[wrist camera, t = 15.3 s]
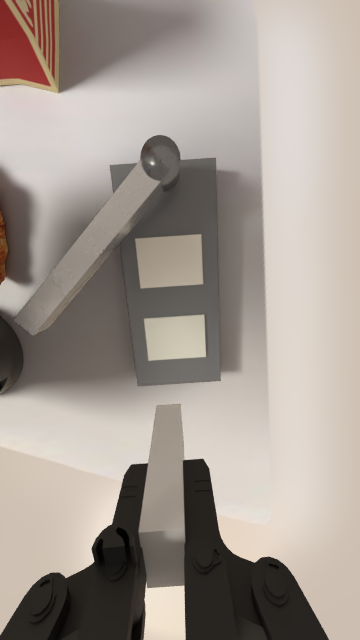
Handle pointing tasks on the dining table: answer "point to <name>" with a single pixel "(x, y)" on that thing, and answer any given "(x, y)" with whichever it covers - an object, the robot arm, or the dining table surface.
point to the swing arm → (104, 233)
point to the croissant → (2, 249)
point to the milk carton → (30, 43)
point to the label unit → (174, 279)
